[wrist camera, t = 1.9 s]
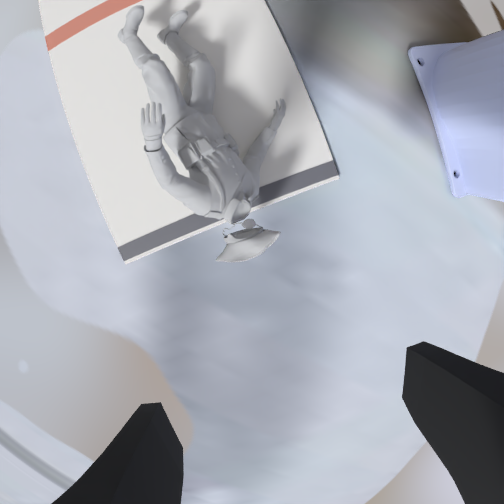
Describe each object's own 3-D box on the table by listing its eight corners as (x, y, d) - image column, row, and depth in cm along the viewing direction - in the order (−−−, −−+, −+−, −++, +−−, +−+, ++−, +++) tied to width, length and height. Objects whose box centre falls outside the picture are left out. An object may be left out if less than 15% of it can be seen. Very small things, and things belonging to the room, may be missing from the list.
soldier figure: (229, 16, 14) (363, 192, 13) (188, 74, 18) (293, 237, 17) (98, 1, 9) (245, 255, 8) (70, 82, 12) (173, 303, 12)
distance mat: (338, 178, 16) (339, 178, 16) (126, 263, 16) (125, 264, 16) (209, -90, 11) (209, -92, 11) (36, -16, 11) (35, -17, 11)
